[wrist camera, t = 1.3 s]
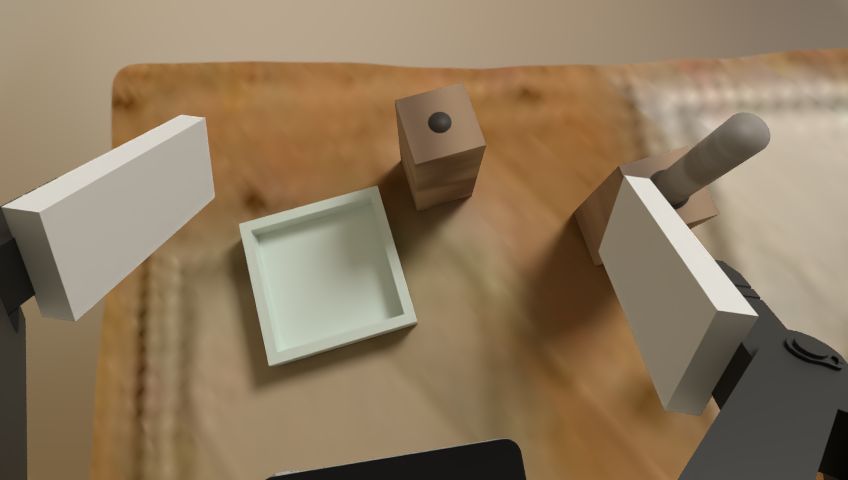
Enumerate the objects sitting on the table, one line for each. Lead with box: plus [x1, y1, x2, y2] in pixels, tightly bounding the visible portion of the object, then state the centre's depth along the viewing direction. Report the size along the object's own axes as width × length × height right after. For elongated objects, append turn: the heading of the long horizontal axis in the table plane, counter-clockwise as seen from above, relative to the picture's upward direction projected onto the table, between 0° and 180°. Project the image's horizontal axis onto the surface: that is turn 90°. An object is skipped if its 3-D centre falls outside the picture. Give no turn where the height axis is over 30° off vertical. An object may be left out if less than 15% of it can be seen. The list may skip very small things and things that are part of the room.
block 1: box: [395, 83, 486, 211], centre depth 38 cm, size 5×5×10 cm
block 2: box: [574, 113, 770, 266], centre depth 33 cm, size 5×5×18 cm
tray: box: [239, 186, 417, 366], centre depth 39 cm, size 12×12×2 cm
